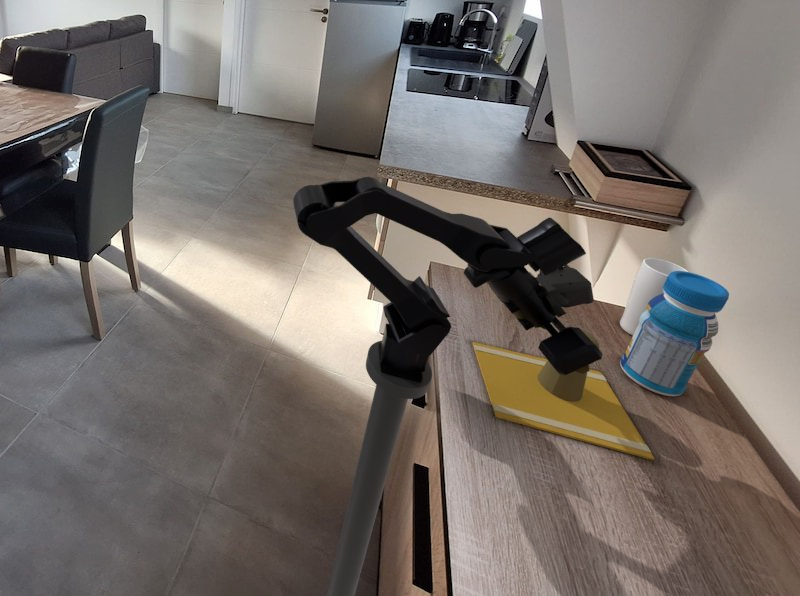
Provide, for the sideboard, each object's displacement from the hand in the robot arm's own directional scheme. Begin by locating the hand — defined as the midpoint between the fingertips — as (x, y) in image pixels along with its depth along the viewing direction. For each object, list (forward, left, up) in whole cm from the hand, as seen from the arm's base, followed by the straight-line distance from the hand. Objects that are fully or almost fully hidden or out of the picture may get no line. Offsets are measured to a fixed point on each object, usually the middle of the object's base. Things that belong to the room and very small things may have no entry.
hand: (565, 348), depth 73 cm
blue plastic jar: (+18, +8, -9) cm, 21 cm away
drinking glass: (+22, +21, -9) cm, 32 cm away
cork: (+1, 0, -8) cm, 8 cm away
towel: (0, -2, -8) cm, 8 cm away
